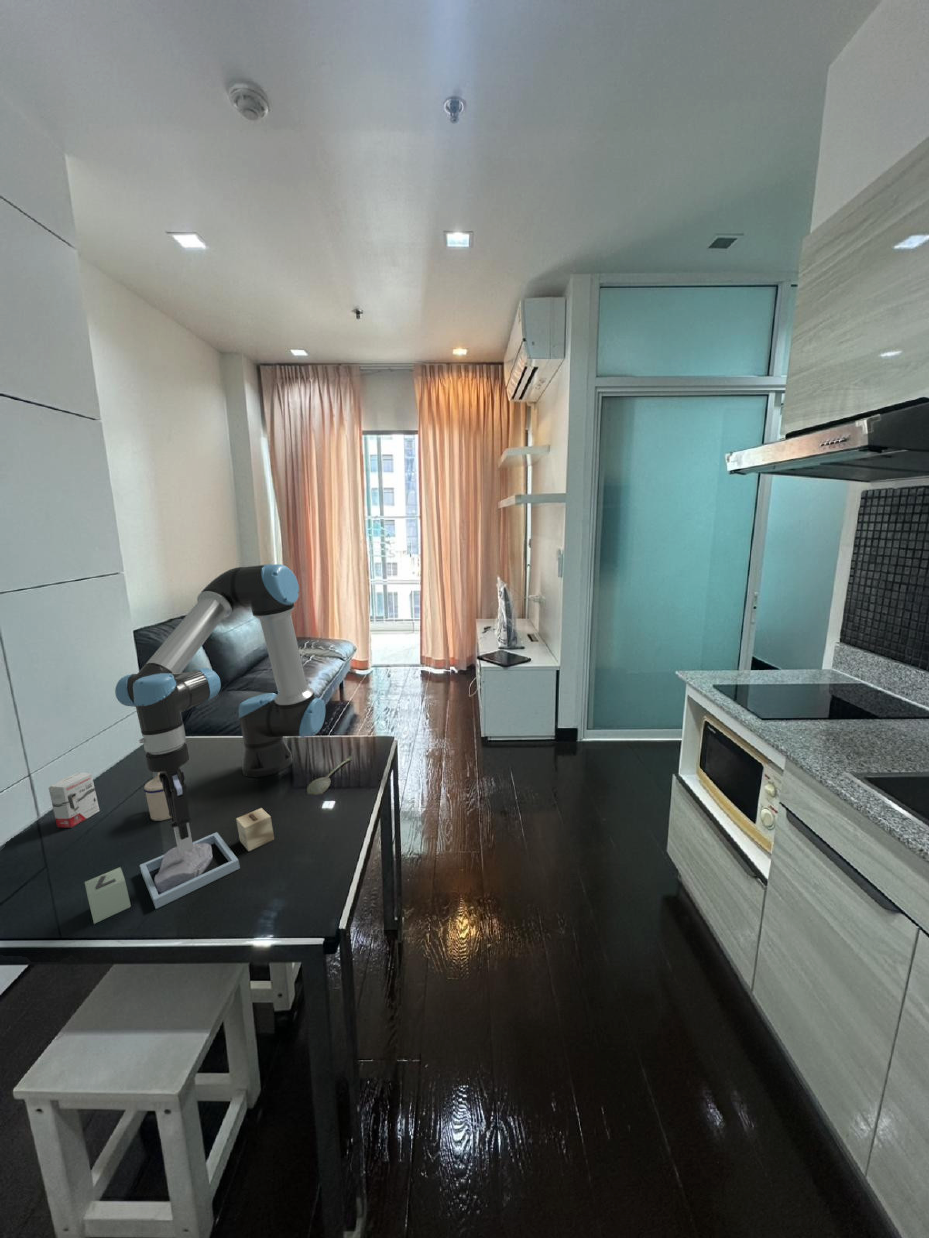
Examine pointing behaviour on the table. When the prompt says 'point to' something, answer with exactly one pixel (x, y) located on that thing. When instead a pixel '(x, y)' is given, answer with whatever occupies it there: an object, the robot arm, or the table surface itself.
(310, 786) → the soupspoon
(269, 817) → the numbered birch block
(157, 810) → the teacup with lid
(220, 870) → the slate-blue holder
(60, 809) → the ink box
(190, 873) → the stone block
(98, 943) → the table surface
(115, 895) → the numbered sage-green block
